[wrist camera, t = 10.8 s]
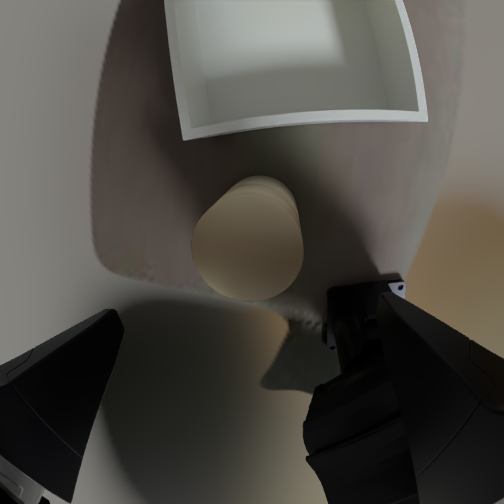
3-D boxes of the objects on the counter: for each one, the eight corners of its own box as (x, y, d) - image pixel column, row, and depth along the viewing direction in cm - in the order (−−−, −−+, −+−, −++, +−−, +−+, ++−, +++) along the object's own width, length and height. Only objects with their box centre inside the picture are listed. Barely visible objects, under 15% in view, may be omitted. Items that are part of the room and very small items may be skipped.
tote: (392, 121, 15) (428, 121, 11) (208, 137, 17) (183, 140, 12) (345, -58, 9) (357, -92, 4) (183, -43, 10) (159, -74, 6)
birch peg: (293, 250, 19) (296, 306, 13) (222, 243, 20) (193, 295, 13) (300, 178, 17) (310, 202, 11) (224, 173, 18) (190, 193, 11)
